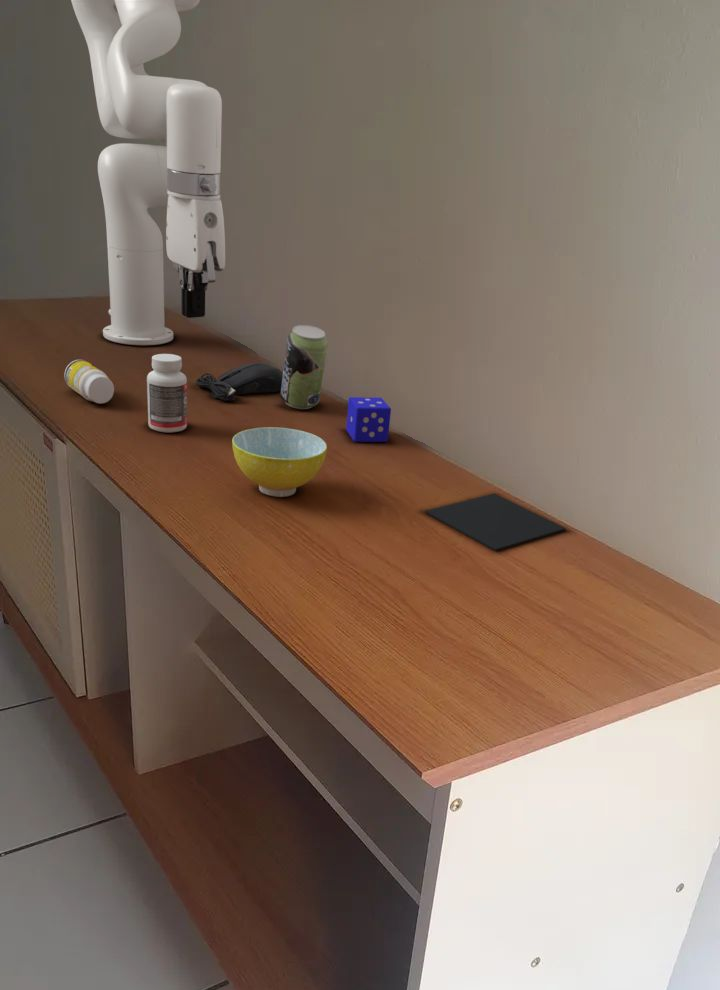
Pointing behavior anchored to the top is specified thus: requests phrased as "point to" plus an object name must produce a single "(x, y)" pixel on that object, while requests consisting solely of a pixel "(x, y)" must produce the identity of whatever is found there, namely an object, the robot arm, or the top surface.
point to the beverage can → (303, 367)
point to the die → (368, 419)
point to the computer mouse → (243, 381)
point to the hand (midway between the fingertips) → (193, 315)
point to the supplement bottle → (89, 381)
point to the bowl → (278, 458)
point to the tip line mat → (495, 521)
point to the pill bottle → (167, 394)
